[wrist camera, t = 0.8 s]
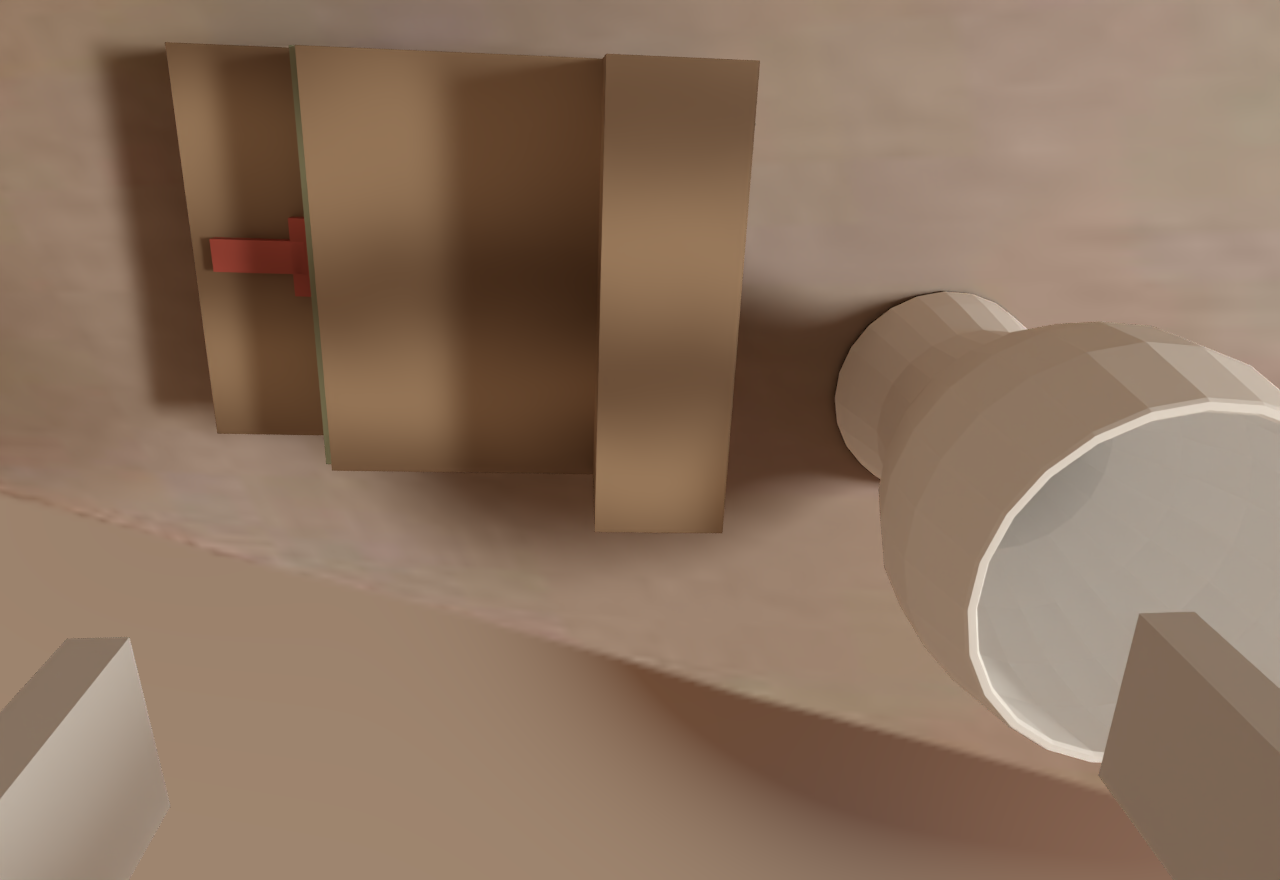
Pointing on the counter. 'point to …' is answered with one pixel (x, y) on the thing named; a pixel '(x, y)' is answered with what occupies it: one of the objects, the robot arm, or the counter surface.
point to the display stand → (476, 261)
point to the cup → (1063, 499)
